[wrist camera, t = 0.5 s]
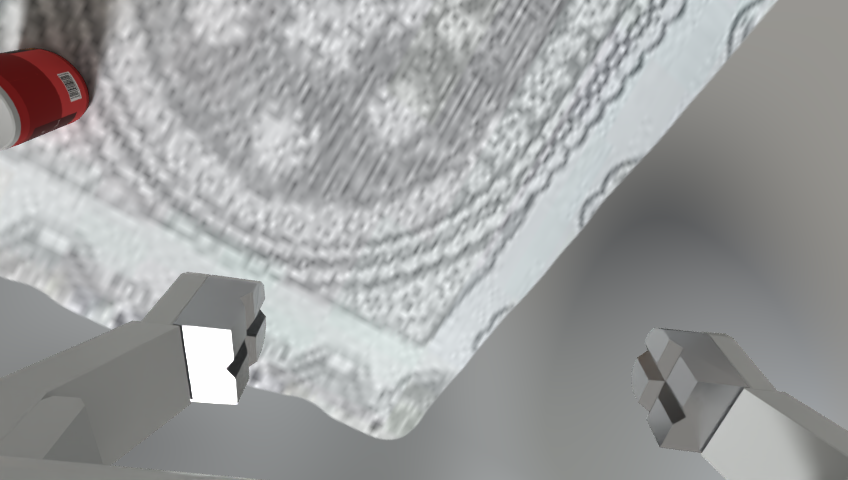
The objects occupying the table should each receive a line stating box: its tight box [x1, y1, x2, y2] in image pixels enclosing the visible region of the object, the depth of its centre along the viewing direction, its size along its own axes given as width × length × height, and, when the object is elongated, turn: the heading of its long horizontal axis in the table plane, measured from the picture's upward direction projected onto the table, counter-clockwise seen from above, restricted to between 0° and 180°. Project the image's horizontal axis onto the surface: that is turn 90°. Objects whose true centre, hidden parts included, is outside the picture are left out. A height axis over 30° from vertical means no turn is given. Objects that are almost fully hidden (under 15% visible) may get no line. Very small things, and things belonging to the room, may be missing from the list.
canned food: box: [0, 48, 89, 151], centre depth 47 cm, size 8×8×11 cm
